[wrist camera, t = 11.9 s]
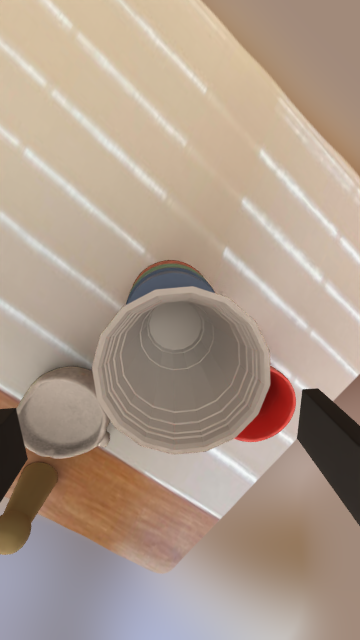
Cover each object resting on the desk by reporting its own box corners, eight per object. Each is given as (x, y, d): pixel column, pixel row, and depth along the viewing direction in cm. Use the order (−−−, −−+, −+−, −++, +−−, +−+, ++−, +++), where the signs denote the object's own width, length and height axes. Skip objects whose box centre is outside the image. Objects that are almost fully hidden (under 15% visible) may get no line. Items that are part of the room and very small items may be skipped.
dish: (17, 425, 42) (-1, 447, 37) (38, 349, 39) (21, 364, 34) (105, 448, 44) (98, 472, 40) (131, 378, 41) (127, 396, 37)
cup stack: (128, 261, 37) (111, 267, 25) (209, 259, 37) (231, 263, 26) (133, 339, 40) (121, 376, 28) (209, 336, 40) (228, 371, 29)
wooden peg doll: (34, 456, 44) (-7, 522, 33) (65, 473, 45) (35, 542, 35) (14, 479, 45) (-31, 550, 34) (45, 495, 46) (10, 569, 36)
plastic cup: (182, 246, 25) (199, 244, 13) (246, 329, 28) (306, 387, 16) (98, 316, 26) (47, 370, 15) (166, 389, 29) (169, 484, 17)
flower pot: (258, 330, 41) (287, 355, 31) (273, 389, 44) (303, 428, 34) (193, 352, 41) (202, 382, 31) (213, 409, 44) (226, 453, 34)
